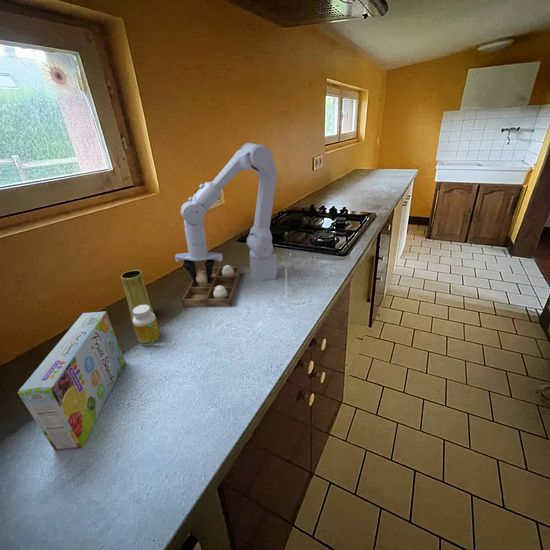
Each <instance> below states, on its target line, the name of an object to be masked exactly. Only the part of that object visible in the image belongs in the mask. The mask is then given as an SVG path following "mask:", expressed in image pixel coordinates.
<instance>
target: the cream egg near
mask: <svg viewBox="0 0 550 550" xmlns="http://www.w3.org/2000/svg"><path fill="white" fill-rule="evenodd" d="M213 295H214V297H215V299H225V298H226V296H227V291H226V289H225V288H224V287H223V286H221V285H218V286H217V287H216V288H215V290H214V292H213Z"/></svg>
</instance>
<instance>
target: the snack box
mask: <svg viewBox="0 0 550 550" xmlns="http://www.w3.org/2000/svg"><path fill="white" fill-rule="evenodd" d="M125 363H126V360H125V358H124V355H123V352H122V349H121V347H120V345H119V341H118V339H117V336H116V334H115V330H114V328H113V326H112V323H111V319H110V318H109V314H108V312H107V311H106V310H105V311H95V312H94V311H93V312H82V313H81V315H80V316H79V318H77V320H76V321H75V322H74V323H73V325H72V326H71V327H70V328H69V330H68V331H67V332H66V333H65V334H64V335H63V336H62V338H60V340H59V341H58V343H56V345H55V346H54V347H53V349H52V350H51V351H50V352H49V353H48V355H47V356H46V357H45V358H44V359H43V360H42V362H41V363H40V364H39V366H38V367H37V368H36V369H35V370H34V372H33V373H32V374H31V375H30V377H29V378H28V379H27V380H26V381H25V382H24V384H23V385H22V386H21V387H20V388H19V389H18V392H17V395H18V396H19V397H20V400H21V401H22V402H23V404H24V405H25V406H26V407H25V408H27V411H29V413H30V414H31V416H32V418H33V419H34V421H35V422H36V424H37V425H38V427H39V429H40V431H42V433H43V435H44V437H45V438H46V439H47V441H48V443H49V444H50V446H51V447H52V449H53V450H54V451H58V450H67V449H79V448H83V447H85V445H86V442H87V440H88V437H89V435H90V433H91V431H92V429H93V428H94V425H95V424H96V421H97V420H98V418H99V416H100V413H101V412H102V409H103V408H104V405H105V404H106V402H107V400H108V397H109V395H110V393H111V392H112V389H113V387H114V385H116V381H117V380H118V377H119V375H120V374H121V372H122V369H123V368H124V366H125Z"/></svg>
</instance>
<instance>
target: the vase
mask: <svg viewBox="0 0 550 550" xmlns="http://www.w3.org/2000/svg"><path fill="white" fill-rule="evenodd" d="M120 279H121V282H122V286H123V291H124V292H125V296H126V301H127V304H128V309H129V312H130V316H131V317H130V318H131V321H132V322H133V318H134V315H133V309H134V308H135V307H137V306H140V305H148V306H149V307H150V310H151V312H153V313H154V310H153V308H152V304H151V301H150V299H149V295H148V291H147V286H146V283H145V280H144V276H143V273H142V271H141V270H140V269H132V270H131V269H130V270H128V271H124V272H123V273H122V274H121V275H120Z"/></svg>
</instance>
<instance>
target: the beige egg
mask: <svg viewBox="0 0 550 550" xmlns="http://www.w3.org/2000/svg"><path fill="white" fill-rule="evenodd" d="M197 271H198V270H197ZM197 271H196V273H197V275H196V281H197V283H199V285H200V286H205V285H207V282H208V279H207V273H206V272H205V271H203V270H200V271H198V272H197Z"/></svg>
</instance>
